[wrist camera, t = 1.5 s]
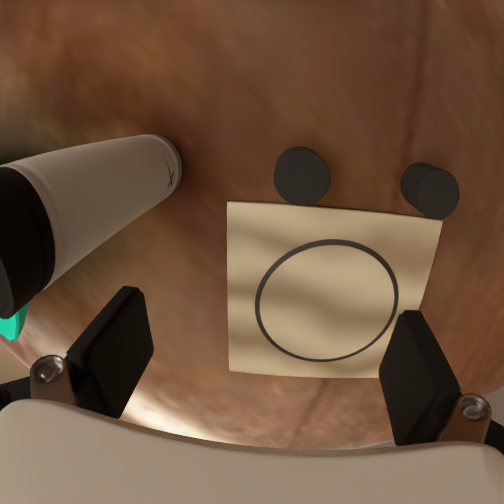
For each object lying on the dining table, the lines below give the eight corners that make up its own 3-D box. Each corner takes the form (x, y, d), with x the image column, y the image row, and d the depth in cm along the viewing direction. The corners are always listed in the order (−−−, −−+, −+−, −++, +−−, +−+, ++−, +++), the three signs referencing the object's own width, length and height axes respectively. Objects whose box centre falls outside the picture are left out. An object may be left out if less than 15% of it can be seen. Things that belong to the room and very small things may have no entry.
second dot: (403, 159, 23) (421, 165, 19) (441, 166, 22) (463, 174, 19) (397, 203, 24) (413, 216, 21) (434, 208, 24) (454, 222, 20)
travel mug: (200, 164, 25) (22, 268, 7) (154, 214, 27) (-3, 352, 9) (151, 117, 24) (-58, 144, 6) (110, 170, 26) (-71, 255, 8)
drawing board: (227, 200, 26) (226, 202, 26) (441, 219, 24) (443, 221, 24) (229, 368, 34) (228, 371, 34) (391, 375, 33) (392, 378, 32)
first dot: (276, 145, 24) (274, 148, 20) (325, 148, 23) (332, 153, 20) (274, 191, 25) (272, 203, 22) (321, 195, 25) (327, 207, 21)
